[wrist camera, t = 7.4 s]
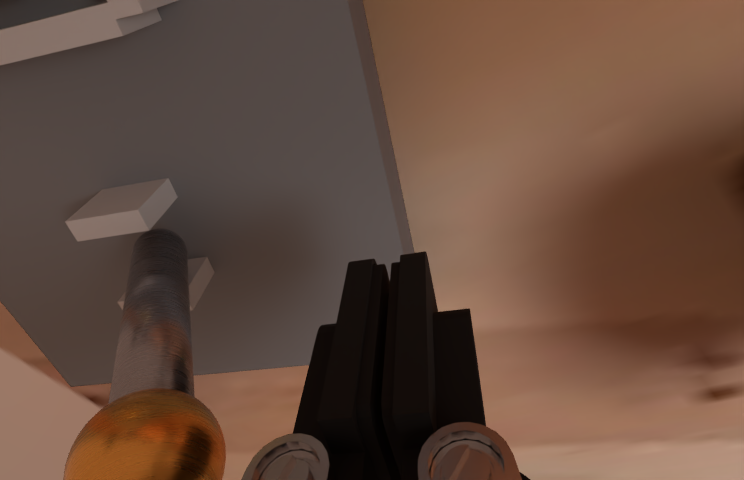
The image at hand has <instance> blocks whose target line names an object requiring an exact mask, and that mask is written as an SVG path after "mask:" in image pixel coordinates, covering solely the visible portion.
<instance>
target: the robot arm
mask: <svg viewBox="0 0 744 480" xmlns="http://www.w3.org/2000/svg"><path fill="white" fill-rule="evenodd" d="M242 480H530V479H529V478H527V477H526V476H525V475H523V474H522V473H521V472H519V469H518V467H517V464H516V461H515V458H514V455H513V453H512V451H511V449H510V448H509V446H508V444H507V442H506V441H505V440H504V439H503V438H502V437H501V436H500V435H499V434H498V433H497V432H496V431H494V430H492V429H490V428H488V427H486V422H485V415H484V407H483V400H482V393H481V385H480V378H479V371H478V363H477V356H476V349H475V342H474V335H473V328H472V321H471V314H470V309H461V310H452V311H443V312H438V309H437V304H436V299H435V294H434V289H433V283H432V278H431V273H430V268H429V263H428V258H427V254H426V252H418V253H411V254H403V255H400V262H394V263H391V274H390V280H389V276H388V272H387V269H386V266H385V264H379V265H377V263H376V261H375V259H366V260H359V261H351V262H349V263H348V267H347V272H346V277H345V282H344V287H343V292H342V297H341V302H340V307H339V312H338V317H337V322H336V323H335V324H326V325H321V326H320V327H319V329H318V332H317V335H316V339H315V343H314V348H313V352H312V356H311V360H310V364H309V368H308V373H307V377H306V381H305V385H304V389H303V393H302V397H301V402H300V406H299V410H298V414H297V418H296V422H295V427H294V431H293V434H288V435H285V436H282V437H279V438H276V439H275V440H273V441H272V442H270V443H268V444H267V445H265V446H264V447H263V448H262V449H261V450H260V451H259V452H258V453H257V454H256V455H255V456H254V457H253V459H252V461H251V462H250V464H249V465H248V467H247V469H246V471H245V473H244V475H243V477H242Z"/></svg>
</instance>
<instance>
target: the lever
mask: <svg viewBox="0 0 744 480" xmlns="http://www.w3.org/2000/svg"><path fill="white" fill-rule="evenodd" d="M225 461H226V450H225V441H224V437H223V433H222V430H221V428H220V425H219V423H218V421H217V419H216V418H215V416H214V415H213V414H212V412H211V411H210V410H209V409H208V408H207V407H206V406H205V405H204V404H203V403H202V402H201V401H199V400H198V399H196V398H195V397H194V379H193V359H192V339H191V319H190V299H189V279H188V259H187V248H186V245H185V242H184V241H183V239H182V238H181V237H180V236H179V235H178V234H176V233H175V232H173V231H171V230H168V229H162V228H157V229H152V230H149V231H146V232H145V233H143V234H142V235H141V236H139V238H138V239H137V240H136V241H135V243H134V245H133V248H132V254H131V260H130V267H129V273H128V280H127V287H126V293H125V300H124V306H123V313H122V319H121V326H120V332H119V339H118V345H117V352H116V358H115V365H114V371H113V378H112V384H111V391H110V397H109V404H108V405H107V406H105V407H104V408H103V409H101V410H100V411H99V412H98V413H97V414H96V415H95V416H94V417H93V418H92V419H91V420H90V421H89V422H88V423H87V424H86V425H85V427H84V428H83V429H82V431H81V432H80V433H79V435H78V436H77V438H76V440H75V442H74V444H73V446H72V448H71V450H70V453H69V455H68V458H67V462H66V465H65V471H64V478H63V480H222V478H223V474H224V468H225Z"/></svg>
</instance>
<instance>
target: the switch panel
mask: <svg viewBox="0 0 744 480" xmlns="http://www.w3.org/2000/svg"><path fill="white" fill-rule="evenodd" d="M157 228H162V229H168V230H171V231H173V232H175V233H176V234H178V235H179V236H180V237H181V238H182V239H183V241H184V242H185V245H186V248H187V259H188V279H189V299H190V319H191V339H192V359H193V376H194V375H205V374H216V373H227V372H238V371H248V370H259V369H270V368H281V367H292V366H303V365H309V364H310V360H311V356H312V352H313V348H314V343H315V339H316V335H317V332H318V329H319V327H320V326H321V325H326V324H335V323H336V322H337V317H338V312H339V307H340V302H341V297H342V292H343V287H344V282H345V277H346V272H347V267H348V263H349V262H351V261H359V260H366V259H375V261H376V263H377V265H379V264H385V266H386V269H387V272H388V276H389V280H390V274H391V263H394V262H400V255H403V254H411V253H414V249H413V244H412V239H411V234H410V229H409V224H408V219H407V215H406V210H405V205H404V200H403V195H402V190H401V185H400V180H399V176H398V171H397V166H396V161H395V156H394V151H393V146H392V142H391V137H390V132H389V127H388V122H387V117H386V112H385V107H384V103H383V98H382V93H381V88H380V83H379V78H378V73H377V68H376V64H375V59H374V54H373V49H372V44H371V39H370V34H369V29H368V25H367V20H366V15H365V10H364V5H363V0H0V301H1V303H2V304H3V305H4V306H5V307H6V309H7V310H8V311H9V312H10V313H11V315H12V316H13V317H14V318H15V320H16V321H17V322H18V323H19V324H20V326H21V327H22V328H23V329H24V330H25V332H26V333H27V334H28V335H29V337H30V338H31V339H32V340H33V341H34V343H35V344H36V345H37V346H38V347H39V349H40V350H41V351H42V352H43V354H44V355H45V356H46V357H47V358H48V360H49V361H50V362H51V363H52V364H53V366H54V367H55V368H56V369H57V371H58V372H59V373H60V374H61V375H62V377H63V378H64V379H65V380H66V381H67V383H68V384H69V385H70V386H71V387H73V386H84V385H95V384H106V383H112V378H113V371H114V365H115V358H116V352H117V345H118V339H119V332H120V326H121V319H122V313H123V306H124V300H125V293H126V287H127V280H128V273H129V267H130V260H131V254H132V248H133V245H134V243H135V241H136V240H137V239H138V238H139V236H141V235H142V234H143V233H145V232H146V231H149V230H152V229H157Z"/></svg>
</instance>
